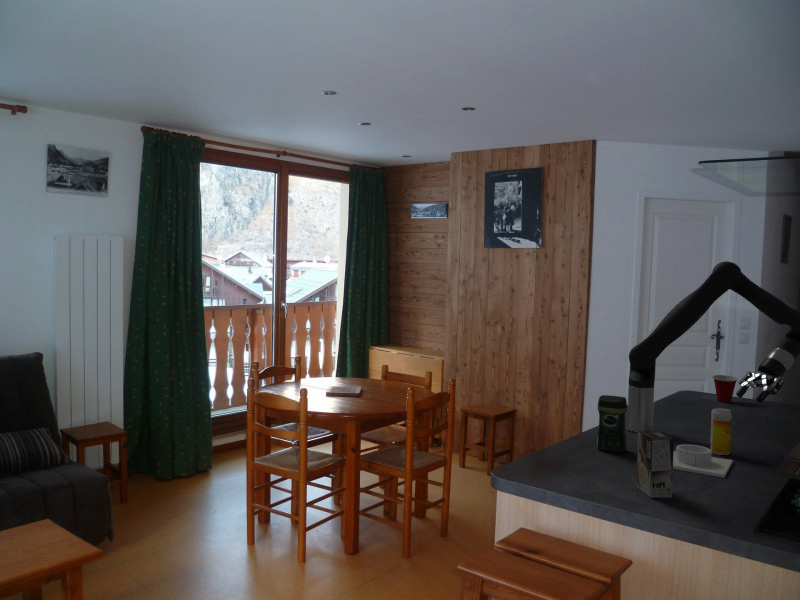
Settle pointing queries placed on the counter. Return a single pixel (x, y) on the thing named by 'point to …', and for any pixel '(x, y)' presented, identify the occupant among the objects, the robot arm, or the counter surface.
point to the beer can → (720, 431)
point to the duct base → (706, 470)
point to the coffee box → (655, 464)
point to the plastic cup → (724, 387)
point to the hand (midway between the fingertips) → (747, 398)
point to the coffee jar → (612, 423)
